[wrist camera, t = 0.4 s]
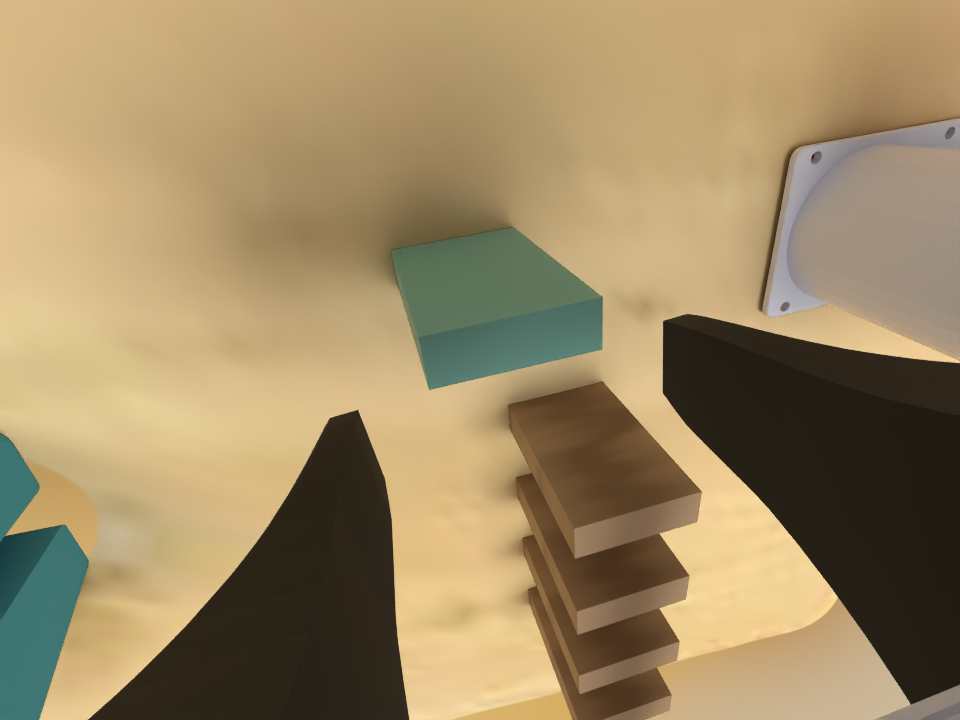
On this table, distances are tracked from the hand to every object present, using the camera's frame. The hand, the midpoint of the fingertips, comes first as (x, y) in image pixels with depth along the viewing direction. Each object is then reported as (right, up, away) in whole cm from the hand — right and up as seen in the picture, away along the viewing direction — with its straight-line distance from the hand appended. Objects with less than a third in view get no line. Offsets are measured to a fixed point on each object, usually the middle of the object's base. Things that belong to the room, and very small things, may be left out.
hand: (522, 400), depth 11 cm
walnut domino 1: (+3, -1, +14) cm, 14 cm away
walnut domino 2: (+3, -6, +16) cm, 17 cm away
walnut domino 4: (+5, -14, +21) cm, 25 cm away
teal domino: (-2, +5, +9) cm, 10 cm away
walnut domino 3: (+4, -10, +19) cm, 21 cm away
